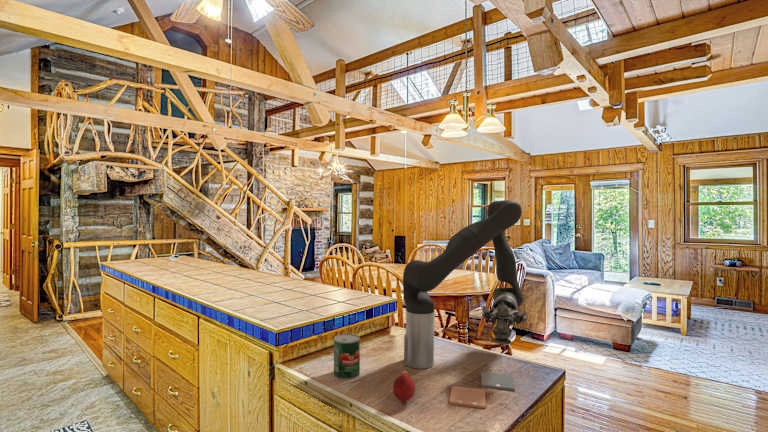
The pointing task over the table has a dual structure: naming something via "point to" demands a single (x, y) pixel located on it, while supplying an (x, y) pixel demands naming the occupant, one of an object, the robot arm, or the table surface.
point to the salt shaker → (502, 325)
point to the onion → (404, 387)
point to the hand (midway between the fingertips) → (501, 322)
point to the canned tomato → (346, 356)
